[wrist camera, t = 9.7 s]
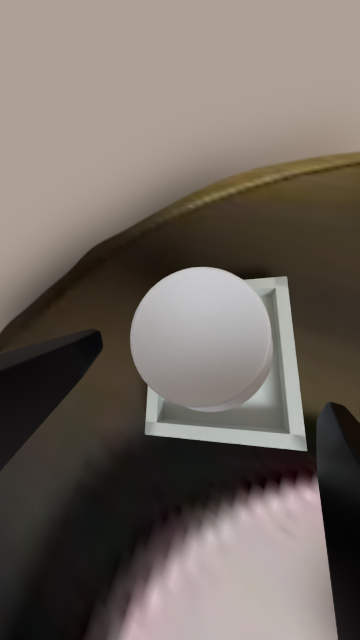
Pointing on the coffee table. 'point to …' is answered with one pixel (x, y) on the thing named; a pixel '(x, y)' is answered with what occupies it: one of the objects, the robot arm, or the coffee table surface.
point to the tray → (262, 408)
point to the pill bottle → (202, 339)
